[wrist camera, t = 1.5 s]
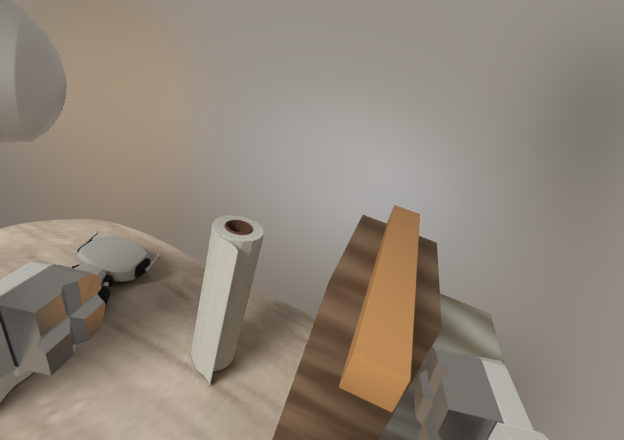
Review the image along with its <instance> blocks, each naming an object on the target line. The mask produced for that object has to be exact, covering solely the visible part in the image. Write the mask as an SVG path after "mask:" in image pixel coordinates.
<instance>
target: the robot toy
mask: <svg viewBox="0 0 624 440" xmlns="http://www.w3.org/2000/svg"><path fill="white" fill-rule="evenodd" d="M97 234H98V232H95V233H94V235H93V236H92V237H91V238H89V239H88V240H87V241H86V242H85V243H84V244H82V245H81V246H80V248H79V249H78V250H77V251H78V254H77V258H78V264H79V265H76V266H73V267H72V268H73V269H78V270H82V271H86V272H90V273H94V274H95V275H97V276H99V278H100V282H101V287H102V288H101V289H100V291H99V292H98V293H97V294H98V295H99V297H100V298H101V299H102V300H103V302H104V306H106V304H107V301H108V298H109V295H110V292H109V289H108V286H111V285H112V282H113V281H120V282H124V281H130V280H134V279H135V278H136V277H140V276H141V275H143V274H144V273H145V272H148V271H149V270H150V267H151V266H152V265H153V263H154V262H155V261H156V260H157V258H158V257H159V256H160V254H161V253H159V254H158V255H157V257H156V258H155V259H154V261H153V262H152V263H151V264H150V259H149V253H148V251H147V250H146V249H145V248H143V247H142V246H140V245H138V244H136V243H134V242H132V241H129V240H125V239H121V238H117V237H109V236H105V237H97V238H95V239H94V240H91V239H92V238H93V237H94V236H96V235H97Z"/></svg>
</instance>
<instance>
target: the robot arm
mask: <svg viewBox="0 0 624 440" xmlns="http://www.w3.org/2000/svg"><path fill="white" fill-rule="evenodd" d="M65 97H66V77H65V71H64V68H63V64H62V61H61V59H60V56H59V54H58V52H57V50H56V48H55V46H54V44H53V43H52V41H51V40H50V38H49V37H48V35H47V34H46V33H45V31H44V30H43V29H42V28H41V26H40V25H39V24H38V23H37V22H36V21H35V20H34V19H33V18H32V17H31V16H30V15H29V14H28V13H26V12H25V11H24V10H23V9H22V8H20V7H19V6H18V5H17V4H16V3H14V2H13V1H12V0H0V143H16V142H31V141H34V140H35V139H37V138H39V137H40V136H42V135H43V134H44V133H45V132H46V131H47V130H49V128H50V127H51V126H52V125H53V124H54V123H55V121H56V120H57V118H58V117H59V115H60V113H61V111H62V109H63V105H64V102H65ZM101 288H102V287H101V282H100V278H99V276H97V275H95V274H94V273H90V272H86V271H82V270H78V269H73V268H69V267H65V266H61V265H55V264H51V263H47V262H43V261H34V262H30V263H28V264H26V265H25V266H23V267H21V268H19V269H18V270H16V271H14V272H12V273H11V274H9V275H7V276H5V277H4V278H2V279H0V403H1V401H2V400H3V399H4V398H5V396H6V395H7V394H8V393H9V392H10V390H11V389H12V388H13V387H14V386H15V385H17V384H18V383H20V382H21V381H23V380H24V379H25V378H27V377H28V376H30V375H31V374H32V373H34V372H37V373H41V374H46V375H50V376H52V375H53V374H54V373H55V372H56V371H57V370H58V369H59V368H60V367H61V366H62V365H63V364H64V363H65V362H66V361H67V360H68V359H69V358H70V357H71V356H72V355H73V354H74V353H75V347H76V345H77V344H79V343H82V342H84V341H86V340H89V339H90V338H91V337H92V336H93V335H94V334H95V333H96V332H97V331H98V329H99V327H100V325H101V323H102V321H103V320H104V314H105V306H104V302H103V300H102V299H101V298H100V297H99V295H98V294H97V293H98V292H99V291H100V289H101ZM425 362H426V368H427V370H425V371H423V372H421V373H420V374H419V377H418V380H417V383H416V389H415V396H414V406H415V416H416V418H417V419H418V421H419V422H420V424H421V425H422V427H421V430H420V432H419V435H418V440H549V439H548V438H547V437H546V436H545V435H544V434H543V433H540V432H537V431H534V429H533V427H532V424H531V422H530V420H529V418H528V415H527V413H526V411H525V409H524V406H523V404H522V402H521V400H520V397H519V395H518V393H517V391H516V388H515V386H514V384H513V382H512V379H511V377H510V375H509V373H508V370H507V368H506V366H505V365H504V363H502V362H501V361H498V360H493V359H488V358H483V357H478V356H477V357H475V356H472V355H467V354H462V353H457V352H453V351H448V350H443V349H438V348H434V347H431V348H430V350H429V351H428V353H427V356H426V358H425Z"/></svg>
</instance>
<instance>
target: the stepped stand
mask: <svg viewBox="0 0 624 440" xmlns="http://www.w3.org/2000/svg"><path fill="white" fill-rule="evenodd" d="M386 225H387V224H386V223H383V222H381V221H378V220H375V219H373V218H370V217H367V216H365V215H363V216H362V218H361V220H360V222H359V223H358V225H357V228H356V229H355V231H354V233H353V235H352V237H351V239H350V241H349V244H348V246H347V247H346V249H345V252H344V253H343V256H342V257H341V259H340V261H339V263H338V265H337V267H336V269H335V271H334V273H333V275H332V277H331V279H330V281H329V283H328V286H327V289H326V292H325V294H324V298H323V300H322V303H321V306H320V309H319V311H318V314H317V317H316V320H315V322H314V325H313V328H312V331H311V334H310V336H309V339H308V342H307V345H306V348H305V350H304V353H303V356H302V359H301V362H300V364H299V367H298V370H297V373H296V375H295V378H294V381H293V384H292V387H291V389H290V392H289V395H288V398H287V401H286V403H285V406H284V409H283V412H282V415H281V417H280V420H279V423H278V426H277V429H276V431H275V434H274V437H273V440H418V435H419V432H420V430H421V427H422V425H421V424H420V422H419V421H418V419H417V418H416V416H415V406H414V396H415V389H416V383H417V380H418V377H419V374H420V373H421V372H423V371H425V370H427V368H426V362H425V358H426V356H427V353H428V351H429V350H430V348H431V347H434V348H438V349H443V350H448V351H453V352H457V353H462V354H467V355H472V356H475V357H477V356H478V357H483V358H488V359H493V360H498V361H501V362H502V363H504V362H503V358H502V354H501V351H500V348H499V344H498V341H497V337H496V333H495V330H494V326H493V322H492V318H491V315H490V314H489V313H487V312H484V311H482V310H479V309H477V308H475V307H472V306H469V305H467V304H465V303H462V302H460V301H457V300H455V299H452V298H450V297H447V296H445V295H442V294H440V291H439V274H438V259H437V258H438V257H437V243H436V242H433V241H431V240H428V239H425V238H423V237H420V236H419V239H418V256H417V274H416V291H415V309H414V326H413V344H412V361H411V378H410V382H409V384H408V385H407V387H406V389H405V391H404V392H403V394H402V396H401V398H400V399H399V401H398V403H397V405H396V406H395V408H394V410H393V412H390V411H388V410H386V409H384V408H381V407H379V406H377V405H375V404H373V403H371V402H369V401H367V400H364V399H362V398H360V397H358V396H356V395H354V394H352V393H350V392H348V391H345V390H343V389H341V388H339V384H340V381H341V377H342V374H343V371H344V367H345V364H346V360H347V357H348V354H349V350H350V347H351V344H352V340H353V337H354V333H355V330H356V327H357V323H358V320H359V316H360V313H361V310H362V306H363V303H364V300H365V296H366V293H367V289H368V286H369V283H370V279H371V276H372V273H373V269H374V266H375V262H376V259H377V256H378V252H379V249H380V245H381V242H382V239H383V235H384V232H385V229H386Z"/></svg>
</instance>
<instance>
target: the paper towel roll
mask: <svg viewBox="0 0 624 440" xmlns="http://www.w3.org/2000/svg"><path fill="white" fill-rule="evenodd" d="M263 236H264V230H263V228H262V227H261V226H260V224H258V223H256V222H255V221H254V220H251V219H248V218H246V217H241V216H235V215H233V216H232V215H231V216H222V217H218V218H217V219H216V220H214V221H213V225H212V230H211V236H210V242H209V248H208V255H207V260H206V266H205V272H204V278H203V284H202V290H201V296H200V302H199V308H198V314H197V320H196V326H195V332H194V338H193V344H192V350H191V357H192V359H193V362H194V365H195V367H196V369H197V370H198V371H199V372H200V373H201V374H202V375H204V376H205V378H206V379H207V381H208V382H209V386H210V384H211V379H212V374H213V371H219V370H222V369H224V368H226V367H227V366H229V365H230V363H231V362H232V360H233V359H234V356H235V352H236V347H237V343H238V339H239V335H240V331H241V327H242V323H243V318H244V314H245V310H246V306H247V302H248V298H249V294H250V290H251V285H252V281H253V277H254V273H255V269H256V264H257V260H258V256H259V252H260V248H261V244H262V240H263Z"/></svg>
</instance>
